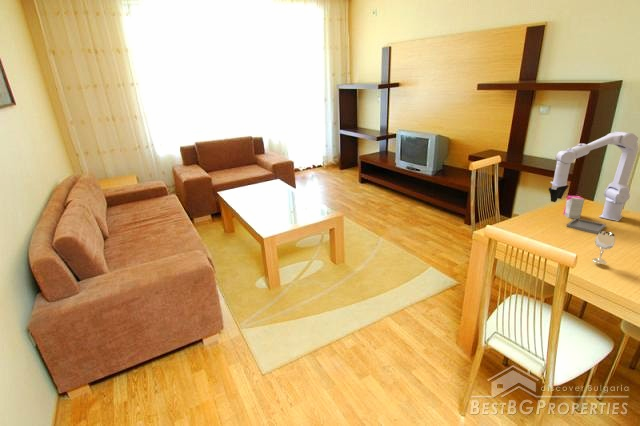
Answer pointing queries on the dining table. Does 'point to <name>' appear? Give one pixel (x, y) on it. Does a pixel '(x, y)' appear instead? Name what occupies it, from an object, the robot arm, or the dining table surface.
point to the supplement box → (573, 206)
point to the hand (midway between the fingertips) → (556, 200)
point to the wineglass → (604, 244)
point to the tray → (586, 225)
